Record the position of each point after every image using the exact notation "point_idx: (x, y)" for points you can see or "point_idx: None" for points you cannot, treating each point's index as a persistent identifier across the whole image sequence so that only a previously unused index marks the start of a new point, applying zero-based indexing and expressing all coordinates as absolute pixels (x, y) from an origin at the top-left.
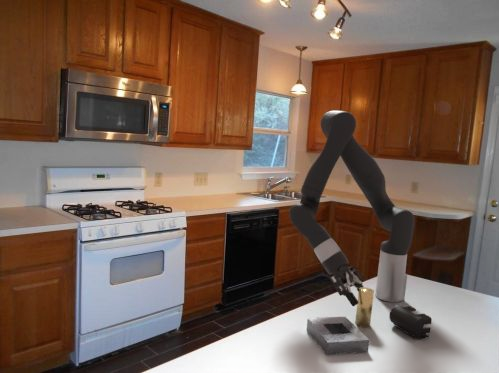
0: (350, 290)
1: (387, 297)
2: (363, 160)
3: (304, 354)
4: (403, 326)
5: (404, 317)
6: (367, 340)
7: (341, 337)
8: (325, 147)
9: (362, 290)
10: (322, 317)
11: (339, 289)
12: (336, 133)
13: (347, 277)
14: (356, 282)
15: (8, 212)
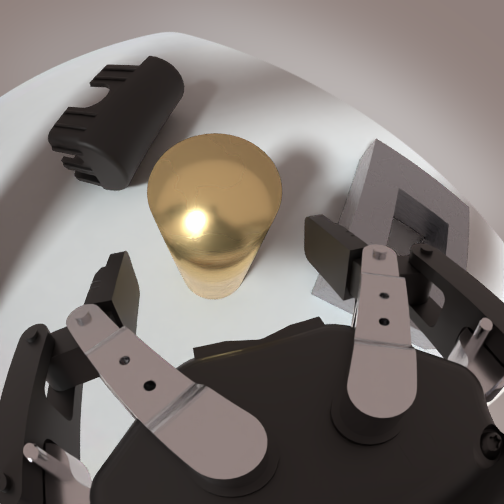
0: (375, 247)
1: None
2: None
3: (476, 252)
4: (163, 124)
5: (153, 103)
6: (380, 142)
7: (435, 196)
8: None
9: (258, 197)
10: (415, 328)
11: (425, 315)
12: None
13: (385, 336)
14: (85, 378)
15: None
